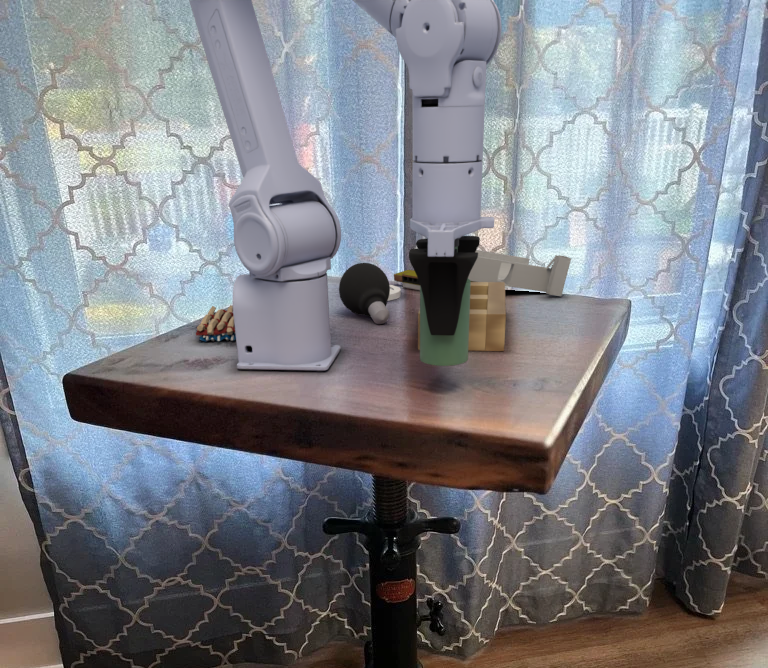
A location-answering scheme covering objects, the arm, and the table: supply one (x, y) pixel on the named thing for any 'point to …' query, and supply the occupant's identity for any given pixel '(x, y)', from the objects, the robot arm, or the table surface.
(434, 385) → the table surface
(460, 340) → the bottle
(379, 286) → the light bulb
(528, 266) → the skate ramp
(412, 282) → the harmonica
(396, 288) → the pendant
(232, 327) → the woven mat
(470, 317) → the hole block
